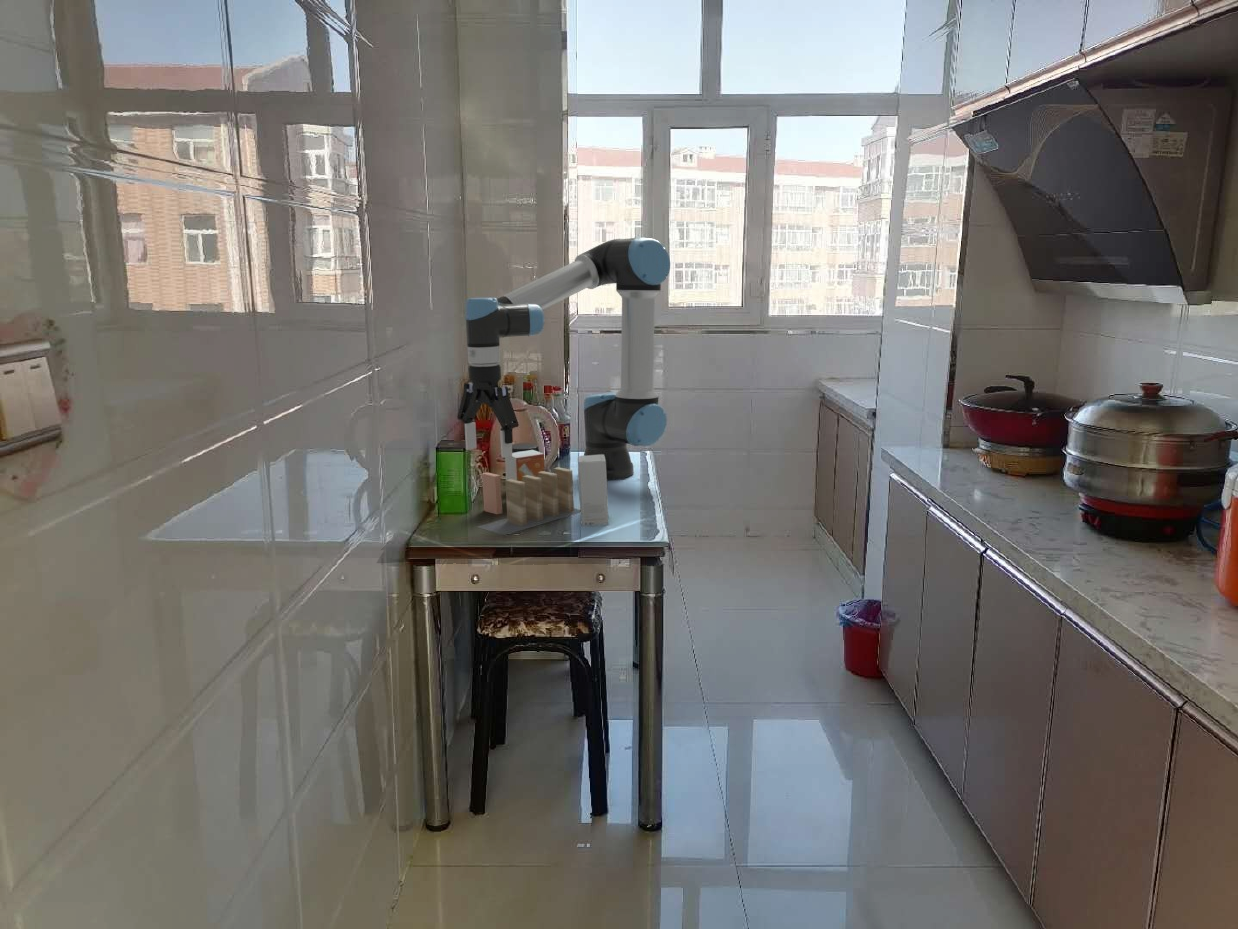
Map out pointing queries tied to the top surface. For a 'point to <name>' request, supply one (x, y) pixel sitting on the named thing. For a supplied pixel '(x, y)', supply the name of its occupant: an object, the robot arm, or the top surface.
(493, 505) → the domino
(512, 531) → the mat
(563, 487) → the domino
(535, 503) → the domino
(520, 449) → the jar
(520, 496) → the domino
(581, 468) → the skincare box
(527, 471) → the small box
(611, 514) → the top surface
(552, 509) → the domino
